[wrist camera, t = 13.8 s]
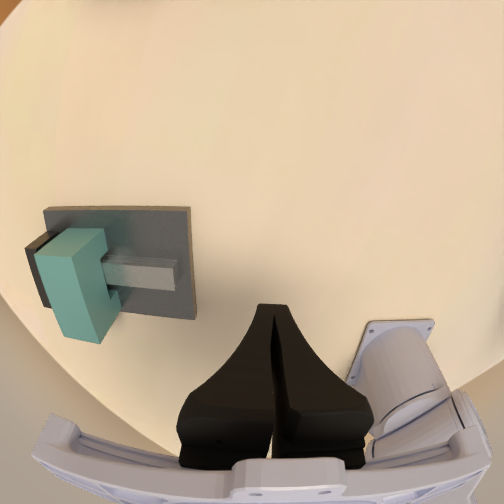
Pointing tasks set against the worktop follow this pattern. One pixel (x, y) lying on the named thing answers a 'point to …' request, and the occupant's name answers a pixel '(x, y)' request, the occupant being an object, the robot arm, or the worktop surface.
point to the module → (78, 283)
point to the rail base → (134, 255)
